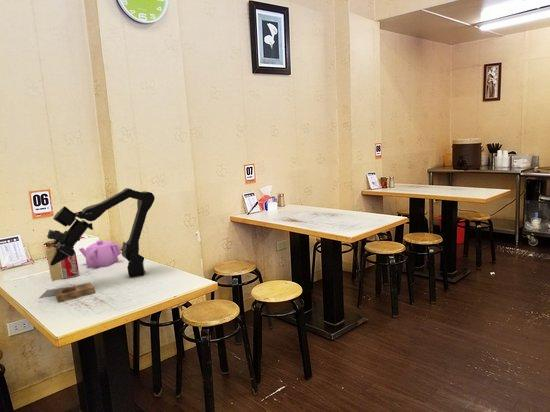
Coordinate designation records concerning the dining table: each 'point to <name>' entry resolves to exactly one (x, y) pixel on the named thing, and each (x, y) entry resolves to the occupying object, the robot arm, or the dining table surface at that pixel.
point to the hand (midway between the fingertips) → (50, 264)
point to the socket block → (74, 292)
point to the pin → (55, 269)
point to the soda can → (70, 267)
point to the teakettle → (101, 254)
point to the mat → (50, 293)
